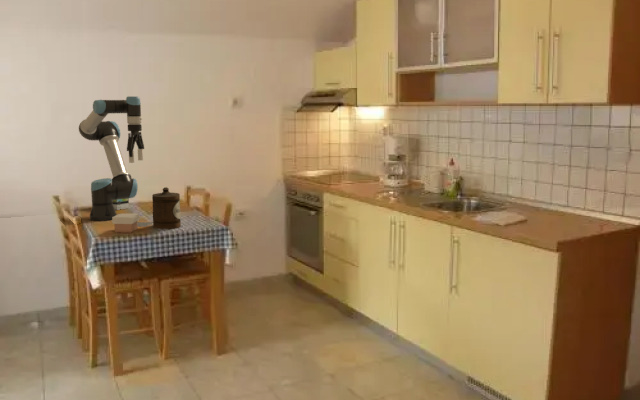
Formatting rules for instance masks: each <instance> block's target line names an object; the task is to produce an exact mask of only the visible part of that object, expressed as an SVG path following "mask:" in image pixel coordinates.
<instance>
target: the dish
mask: <svg viewBox="0 0 640 400" xmlns="http://www.w3.org/2000/svg"><path fill="white" fill-rule="evenodd" d="M137 222H138V221H137ZM137 222H135V223H133V224H113V225H114V234H115V233H116V234H133V232H135V231H136V230H138V228H139V227H138V224H137Z"/></svg>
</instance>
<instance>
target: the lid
mask: <svg viewBox="0 0 640 400" xmlns="http://www.w3.org/2000/svg"><path fill="white" fill-rule="evenodd" d="M111 222H112V223H111V224H112V225H114V224H133V223H135V222H140V213H118V214H117V215H116V216H114V217H112V220H111Z"/></svg>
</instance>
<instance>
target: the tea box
mask: <svg viewBox="0 0 640 400" xmlns="http://www.w3.org/2000/svg"><path fill="white" fill-rule="evenodd" d="M129 199H130V198H129ZM129 199H118V200H113V206H114V209H115V211H121V210H125V209H129V208H130V203H129ZM120 209H121V210H120Z"/></svg>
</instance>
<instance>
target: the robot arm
mask: <svg viewBox="0 0 640 400" xmlns="http://www.w3.org/2000/svg"><path fill="white" fill-rule="evenodd" d="M92 103H93V104H92V111H91V112H90V113H89V114H88V115H87V117H86V118H85V119H82V121H81V122H80V123H79V126H78V132H79V134H80V135H81V137H83V138H84V139H86V140H88V141H98V142H99V144H100V145H101V146H103V150H104V152H105V156H106V159H107V162H108V165H109V168H110V171H111V174H112V177H111V178H110V177H107V178H99V179H95V180H93V181H91V183H90V192H91V194H90V195H91V210H90V214H89V220H90V221H96V222H97V221H98V222H104V221H110V220H111V221H112V217H114V216H116V215H118V214H117V210H115V209H114V206H113V200H118V199H133V198H135V197H136V196H137V194H138V188H139V187H138V181H137V179H136V178H134V177H133V178H132V176H131V174H130V173H128V171H127V168H126V165H125V161H124V158H123V156H122V155H123V154H122V153H121V150H120V149H121V148H120V146H119V143H118V142H119V141H120V138H121V129H120V126H119V124H118V123H117V122H116V121H113V120H112V121H110V120H106V121H104V119H105V118H106V117H107V115H109V114H126V121H127V131H128V132H129V133H127V134H128V135H127V136H128V138H127V144H126V151H127V152H128V162H129V163H130V164H133V163H135V151H134V148H135V144H136V146H137V160H138V161H144V152H143V150H145V144H144V141H143V135H142V124H141V123H142V120H143V119H142V114H141V113H142V111H141V109H142V108H141V107H142V106H141V98H140V97H139V96H126V98H125V99H96V100H94V101H93V102H92ZM129 163H128V164H129Z"/></svg>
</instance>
